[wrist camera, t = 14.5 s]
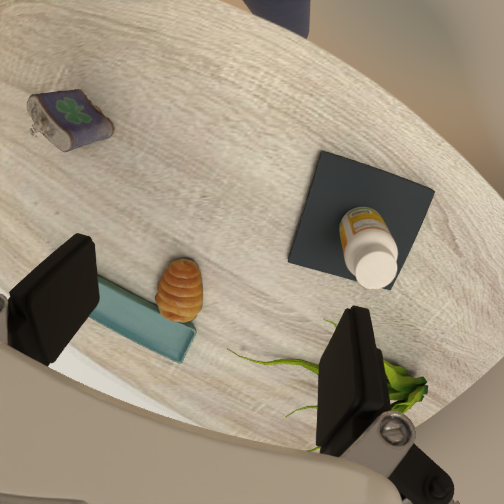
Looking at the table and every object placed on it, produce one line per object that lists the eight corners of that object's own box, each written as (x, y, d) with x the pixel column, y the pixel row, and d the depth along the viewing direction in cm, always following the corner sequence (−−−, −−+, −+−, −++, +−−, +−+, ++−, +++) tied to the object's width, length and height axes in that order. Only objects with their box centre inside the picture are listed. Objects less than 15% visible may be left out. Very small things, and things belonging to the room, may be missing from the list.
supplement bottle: (364, 256, 37) (377, 305, 29) (329, 231, 36) (335, 277, 28) (392, 223, 35) (416, 265, 26) (358, 196, 34) (374, 232, 25)
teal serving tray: (201, 322, 48) (196, 333, 45) (185, 356, 52) (180, 366, 50) (60, 248, 46) (51, 255, 44) (58, 287, 50) (51, 295, 48)
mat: (321, 150, 33) (321, 151, 32) (432, 189, 33) (435, 191, 32) (288, 258, 40) (288, 262, 39) (389, 286, 40) (390, 290, 39)
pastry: (165, 248, 42) (154, 262, 39) (212, 263, 42) (204, 279, 39) (159, 301, 47) (149, 316, 44) (201, 315, 47) (194, 332, 44)
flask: (118, 127, 35) (63, 144, 26) (106, 144, 37) (51, 165, 27) (77, 84, 33) (19, 91, 24) (67, 101, 34) (9, 112, 25)
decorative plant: (315, 270, 40) (314, 353, 28) (428, 374, 46) (445, 444, 33) (229, 340, 48) (204, 417, 36) (349, 418, 54) (350, 484, 41)
